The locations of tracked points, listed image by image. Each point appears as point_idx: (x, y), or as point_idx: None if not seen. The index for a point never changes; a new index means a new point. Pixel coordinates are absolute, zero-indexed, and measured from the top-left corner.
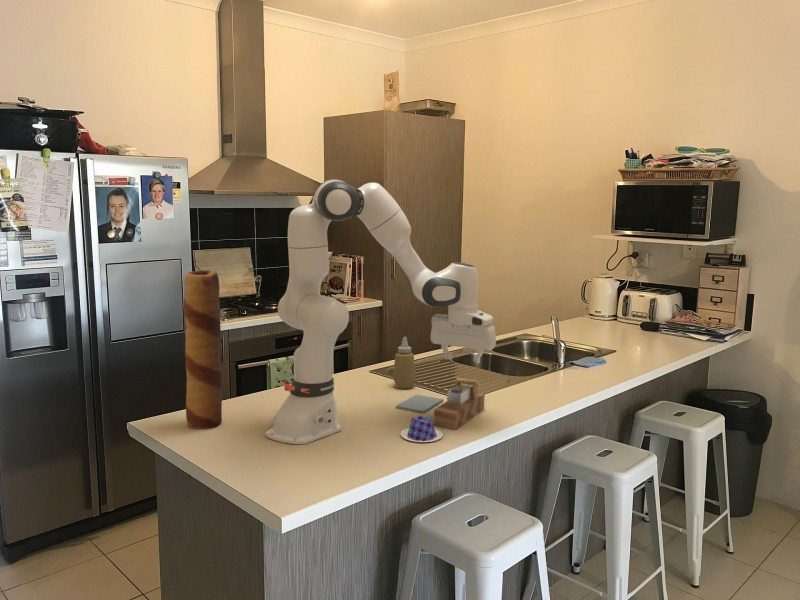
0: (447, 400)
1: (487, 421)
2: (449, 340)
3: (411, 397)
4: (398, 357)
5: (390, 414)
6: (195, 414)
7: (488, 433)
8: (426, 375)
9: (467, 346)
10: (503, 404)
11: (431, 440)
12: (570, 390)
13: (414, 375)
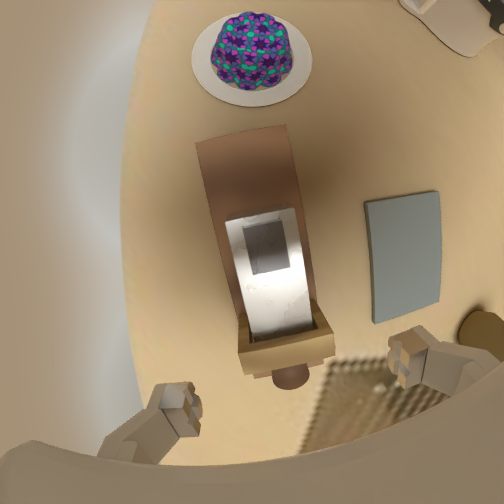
0: (285, 204)
1: (181, 276)
2: (479, 432)
3: (439, 275)
4: None
5: (418, 140)
6: None
7: (123, 198)
8: None
9: (211, 476)
10: (236, 398)
11: (207, 47)
12: None
13: None
